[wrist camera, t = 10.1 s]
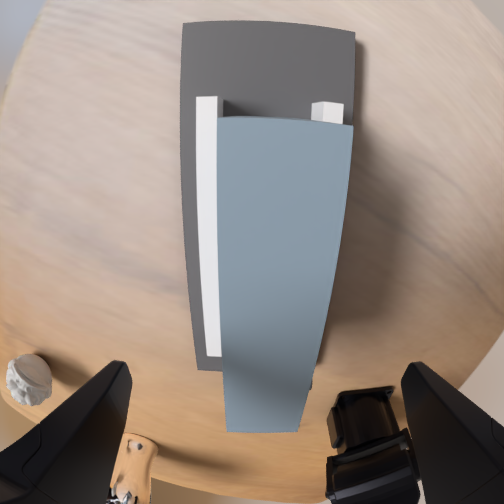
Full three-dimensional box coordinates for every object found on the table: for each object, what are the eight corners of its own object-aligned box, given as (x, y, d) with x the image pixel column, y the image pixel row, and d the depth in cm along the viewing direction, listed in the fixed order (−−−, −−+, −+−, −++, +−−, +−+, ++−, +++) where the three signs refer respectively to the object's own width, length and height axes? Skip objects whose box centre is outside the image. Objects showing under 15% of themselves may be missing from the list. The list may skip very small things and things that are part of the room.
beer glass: (165, 442, 33) (148, 537, 20) (157, 457, 36) (142, 539, 23) (116, 425, 32) (89, 518, 19) (114, 443, 35) (92, 523, 22)
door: (310, 119, 16) (373, 129, 7) (291, 319, 22) (308, 431, 13) (236, 115, 16) (216, 117, 7) (234, 318, 22) (226, 431, 13)
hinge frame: (349, 36, 14) (373, 19, 11) (310, 362, 26) (317, 398, 22) (187, 28, 14) (169, 8, 10) (199, 360, 26) (193, 396, 22)
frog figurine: (68, 363, 27) (44, 409, 21) (55, 385, 29) (35, 425, 23) (27, 330, 25) (-4, 372, 19) (19, 356, 27) (-6, 394, 21)
